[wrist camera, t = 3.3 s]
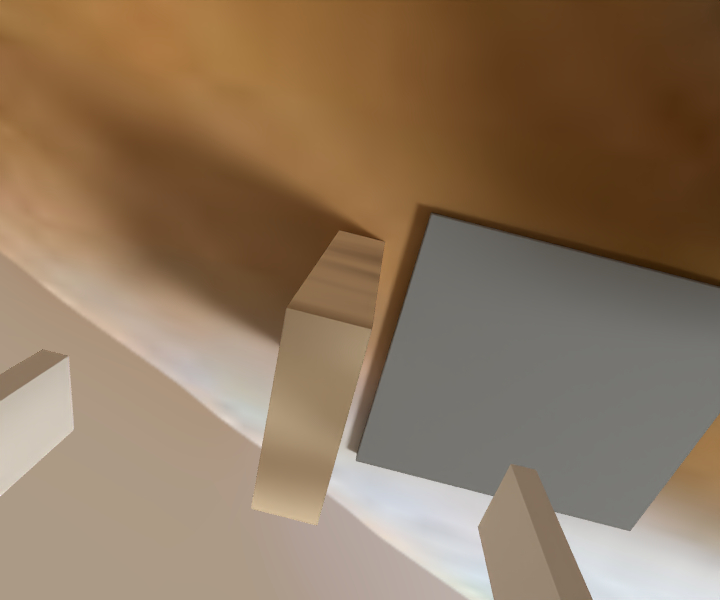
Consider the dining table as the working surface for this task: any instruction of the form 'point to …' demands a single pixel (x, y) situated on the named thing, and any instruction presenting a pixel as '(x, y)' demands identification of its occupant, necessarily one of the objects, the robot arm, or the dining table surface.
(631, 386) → the mat
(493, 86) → the dining table surface
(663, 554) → the dining table surface
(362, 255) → the wooden block
